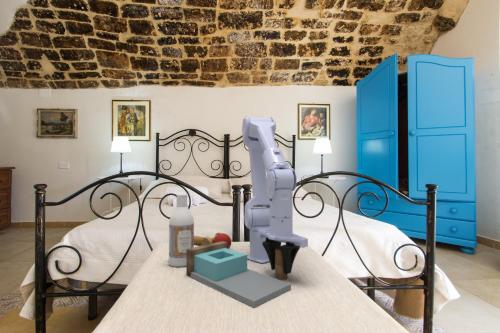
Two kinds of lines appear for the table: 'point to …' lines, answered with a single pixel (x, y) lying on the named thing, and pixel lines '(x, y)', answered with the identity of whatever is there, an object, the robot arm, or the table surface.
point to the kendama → (213, 239)
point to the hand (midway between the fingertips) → (281, 271)
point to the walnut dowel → (279, 265)
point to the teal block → (220, 263)
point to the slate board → (247, 286)
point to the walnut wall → (200, 250)
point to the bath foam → (180, 232)
